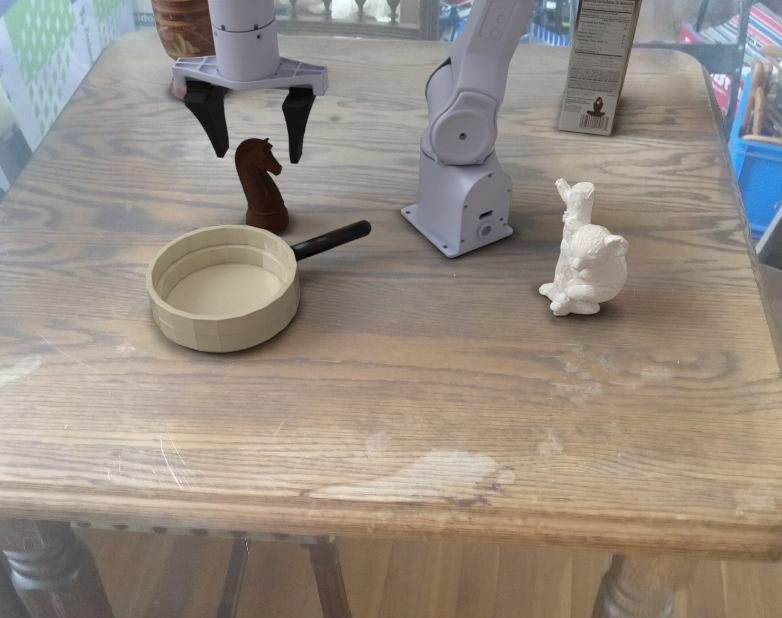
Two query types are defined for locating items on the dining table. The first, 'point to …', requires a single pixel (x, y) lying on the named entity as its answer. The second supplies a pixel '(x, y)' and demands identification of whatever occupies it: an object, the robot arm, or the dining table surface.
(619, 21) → the coffee box
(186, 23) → the painted clay vase
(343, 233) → the pan handle
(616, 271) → the koala figurine
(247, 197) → the chess piece
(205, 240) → the pan
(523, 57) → the dining table surface
